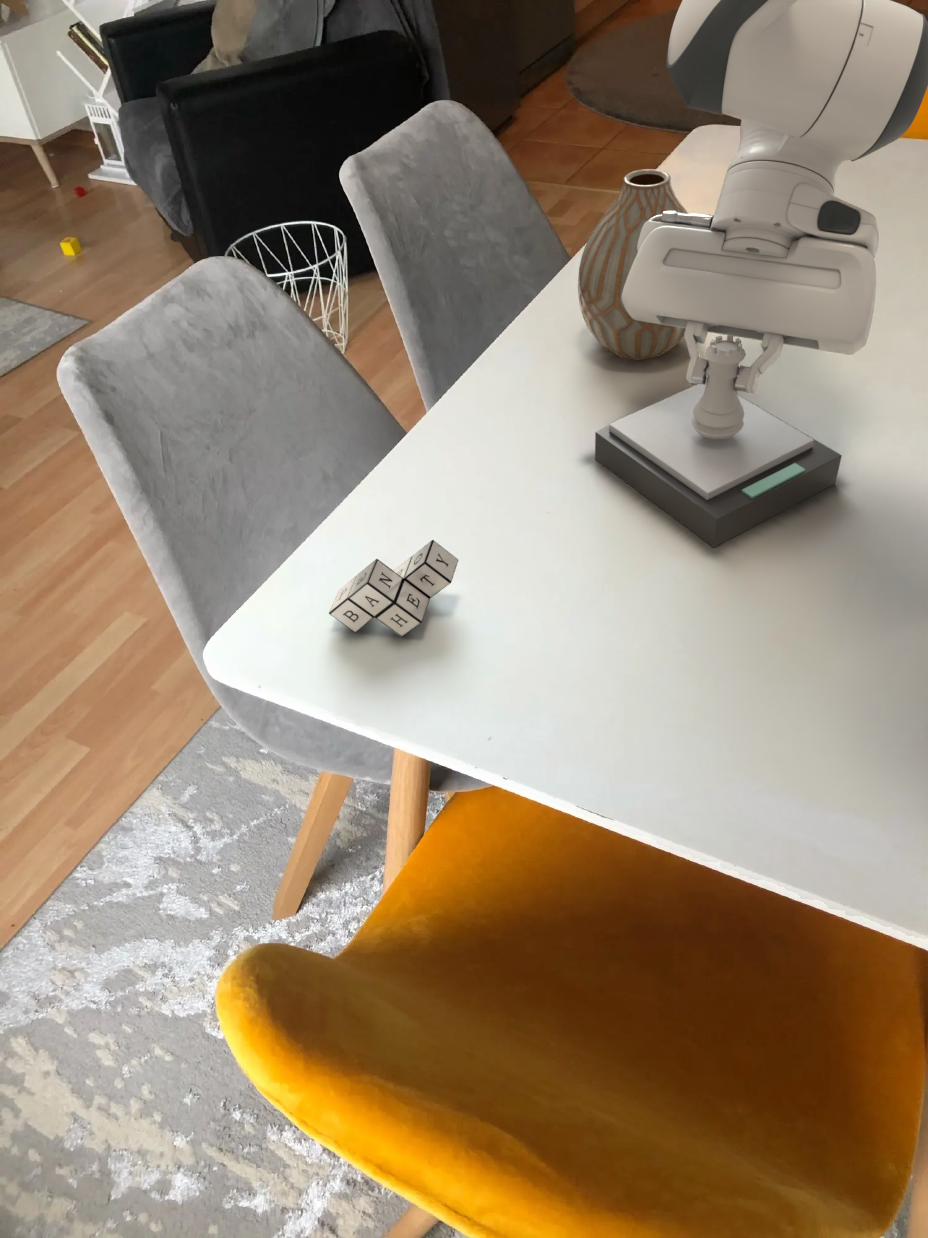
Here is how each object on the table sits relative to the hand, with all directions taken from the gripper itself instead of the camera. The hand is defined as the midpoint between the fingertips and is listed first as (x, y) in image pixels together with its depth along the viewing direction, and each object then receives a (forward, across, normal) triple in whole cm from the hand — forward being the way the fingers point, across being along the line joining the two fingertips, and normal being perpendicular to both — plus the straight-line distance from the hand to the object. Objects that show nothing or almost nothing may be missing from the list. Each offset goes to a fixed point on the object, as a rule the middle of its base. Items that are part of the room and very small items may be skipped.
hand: (719, 386), depth 80 cm
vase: (-7, -14, +20) cm, 26 cm away
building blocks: (+25, -17, -12) cm, 33 cm away
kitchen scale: (+6, 0, +7) cm, 9 cm away
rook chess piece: (+3, 0, +4) cm, 5 cm away
